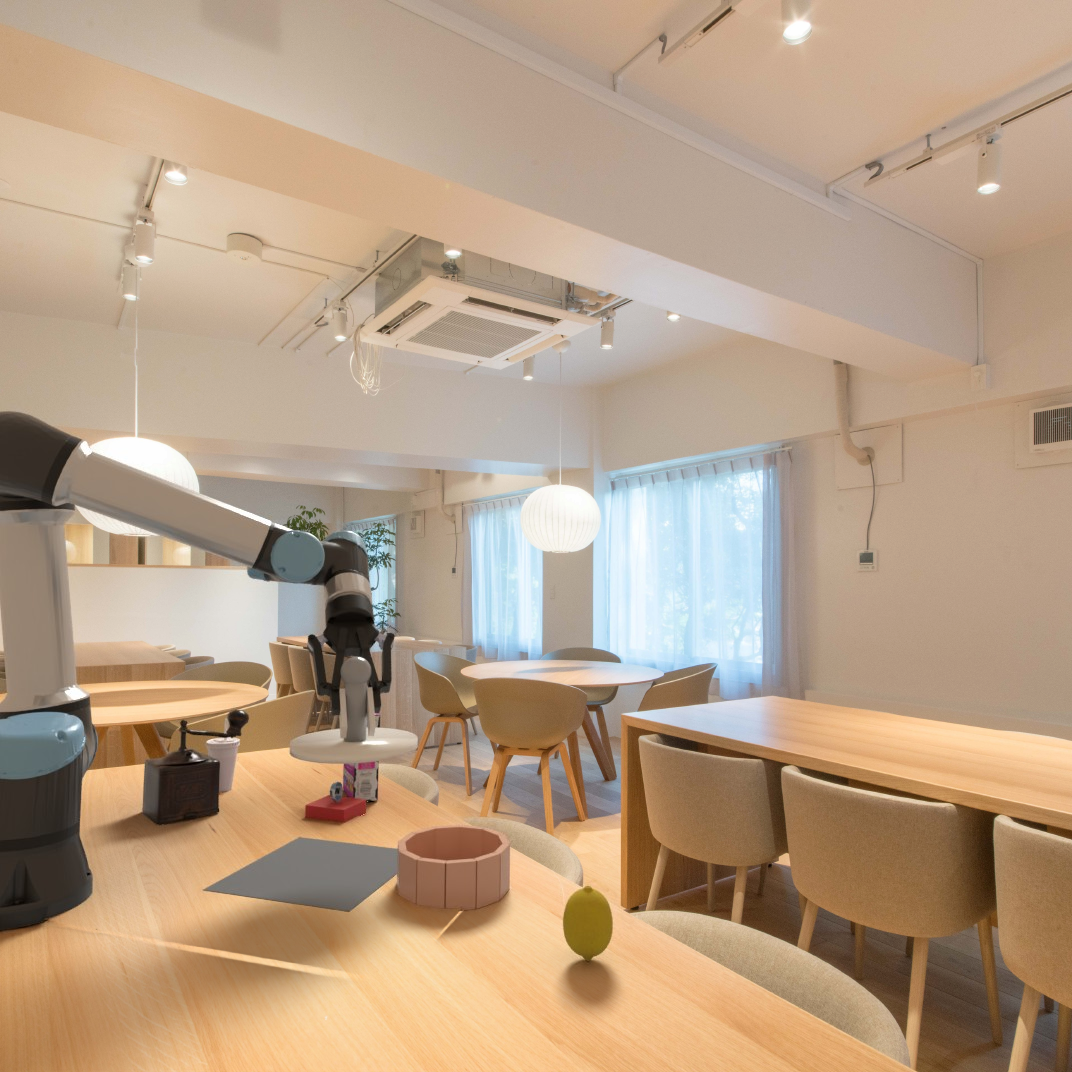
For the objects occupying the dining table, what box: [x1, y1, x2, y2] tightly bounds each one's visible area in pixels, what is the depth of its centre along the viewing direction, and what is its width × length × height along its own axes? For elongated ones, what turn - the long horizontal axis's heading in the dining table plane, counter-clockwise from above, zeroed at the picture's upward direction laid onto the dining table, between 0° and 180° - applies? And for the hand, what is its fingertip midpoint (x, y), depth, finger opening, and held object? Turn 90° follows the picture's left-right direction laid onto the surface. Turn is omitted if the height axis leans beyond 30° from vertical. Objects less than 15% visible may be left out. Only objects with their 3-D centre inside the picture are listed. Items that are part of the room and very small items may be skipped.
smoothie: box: [205, 718, 241, 793], centre depth 151 cm, size 6×6×14 cm
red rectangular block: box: [304, 781, 367, 823], centre depth 134 cm, size 8×7×6 cm
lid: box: [289, 656, 419, 765], centre depth 110 cm, size 18×18×13 cm
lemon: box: [562, 885, 614, 962], centre depth 84 cm, size 6×6×8 cm
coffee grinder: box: [141, 709, 250, 826], centre depth 138 cm, size 16×11×18 cm
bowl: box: [396, 824, 511, 912], centre depth 104 cm, size 15×15×6 cm
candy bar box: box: [342, 713, 381, 803], centre depth 148 cm, size 11×5×16 cm, turn 25°
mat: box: [202, 836, 398, 913], centre depth 108 cm, size 22×22×1 cm
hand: (358, 731), depth 106 cm, fingers closed on lid, 3 cm apart
